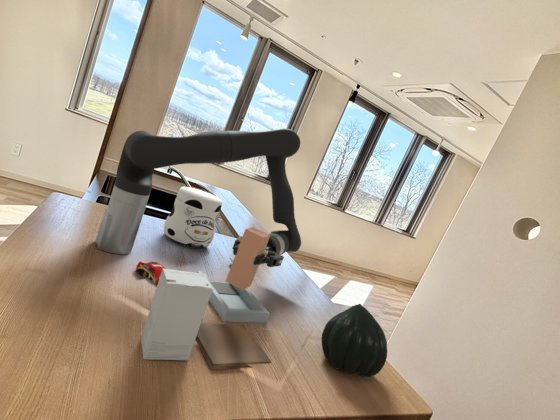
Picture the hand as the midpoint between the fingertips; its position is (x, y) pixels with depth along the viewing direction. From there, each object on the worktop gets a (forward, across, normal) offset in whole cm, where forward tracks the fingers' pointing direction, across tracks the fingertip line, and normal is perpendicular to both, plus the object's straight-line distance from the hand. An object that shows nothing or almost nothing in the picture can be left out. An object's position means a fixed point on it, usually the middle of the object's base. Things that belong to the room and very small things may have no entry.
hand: (245, 256), depth 87 cm
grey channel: (-4, -1, +15) cm, 15 cm away
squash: (-4, +31, +15) cm, 34 cm away
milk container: (-32, -33, +15) cm, 48 cm away
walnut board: (+13, +8, +15) cm, 21 cm away
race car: (+3, -19, +16) cm, 24 cm away
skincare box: (+25, 0, +15) cm, 29 cm away
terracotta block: (-3, 0, +8) cm, 8 cm away
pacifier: (-32, -11, +15) cm, 37 cm away
